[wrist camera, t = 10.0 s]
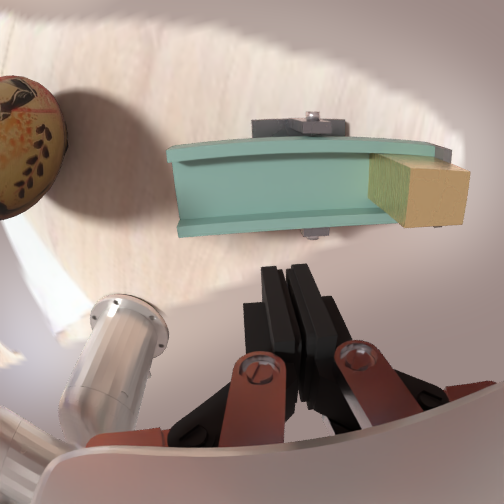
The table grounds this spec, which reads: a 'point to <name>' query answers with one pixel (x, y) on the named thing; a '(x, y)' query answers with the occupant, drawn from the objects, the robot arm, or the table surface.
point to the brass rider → (418, 189)
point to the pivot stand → (300, 128)
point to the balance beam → (281, 182)
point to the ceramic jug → (28, 143)
